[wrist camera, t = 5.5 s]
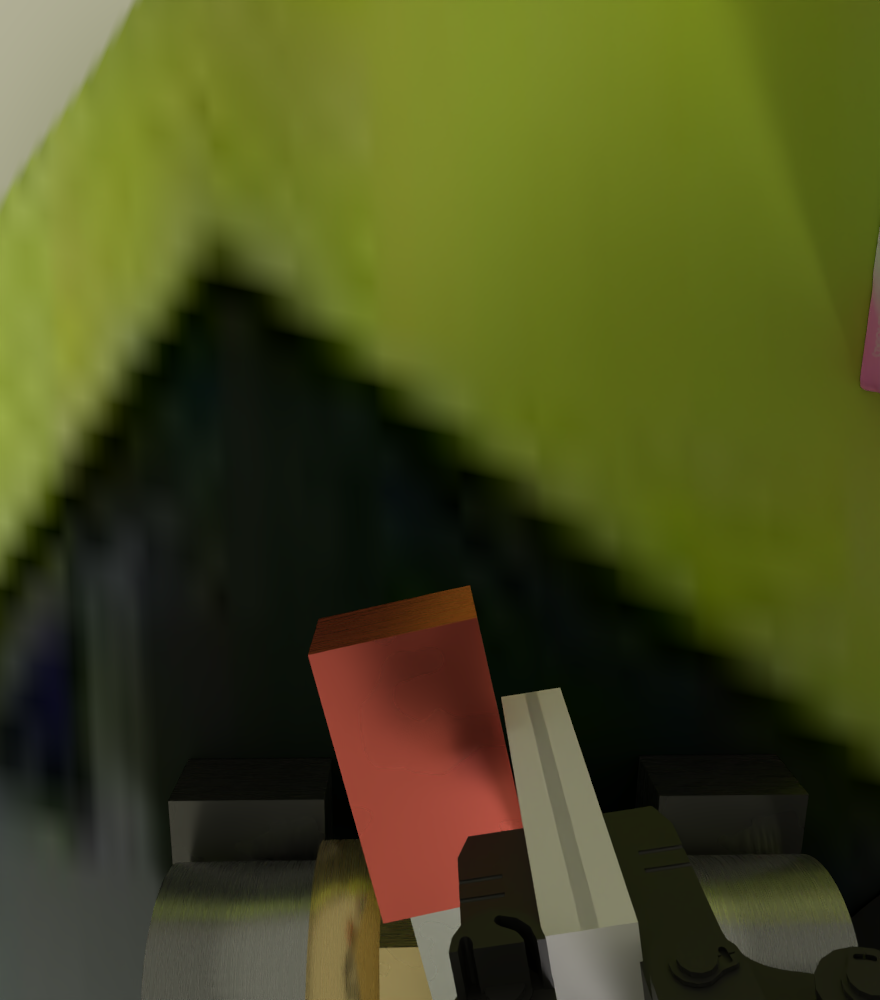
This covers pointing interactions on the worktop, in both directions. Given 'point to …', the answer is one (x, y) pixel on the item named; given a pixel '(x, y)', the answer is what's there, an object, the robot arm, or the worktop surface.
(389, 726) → the lever
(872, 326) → the gum box
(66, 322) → the worktop surface
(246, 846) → the valve pipe
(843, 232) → the worktop surface
